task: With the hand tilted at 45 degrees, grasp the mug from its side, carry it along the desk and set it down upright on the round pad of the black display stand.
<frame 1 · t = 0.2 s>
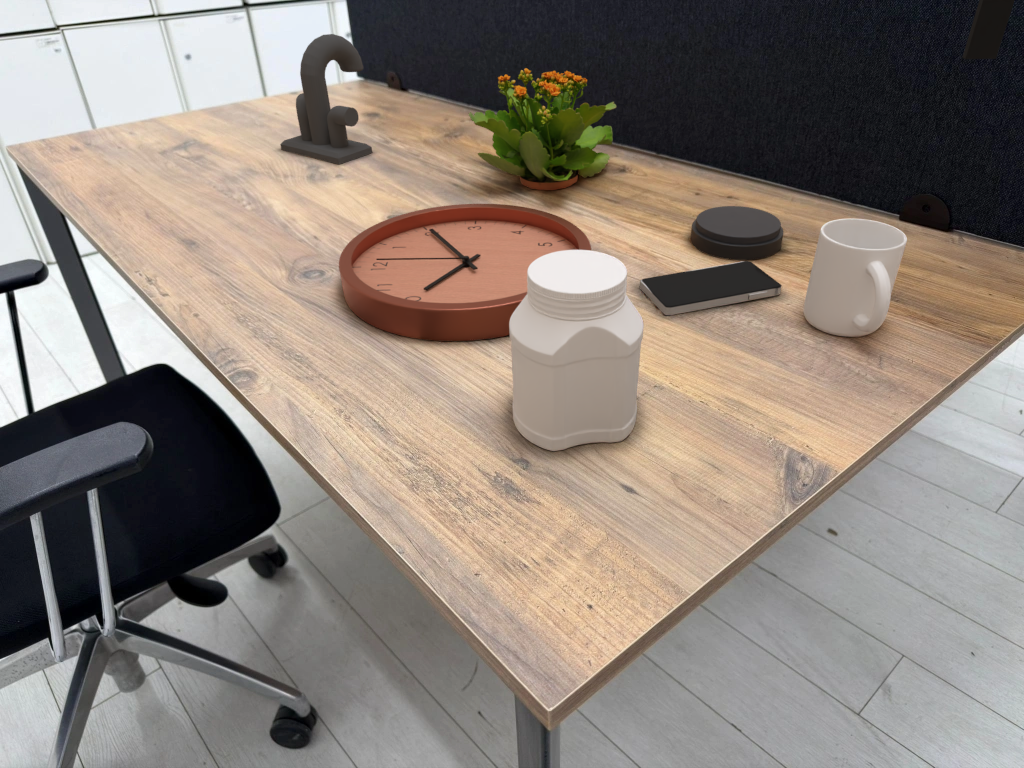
hand: (1010, 74, 63), 26 cm above the table, tool pointing down, fingers open, 13 cm apart
display stand: (735, 241, 99), on the table
smartphone: (708, 292, 87), on the table
potted flower: (545, 183, 121), on the table
mug: (846, 329, 79), on the table
jar: (573, 416, 68), on the table
clock: (467, 279, 92), on the table
faucet: (341, 147, 142), on the table
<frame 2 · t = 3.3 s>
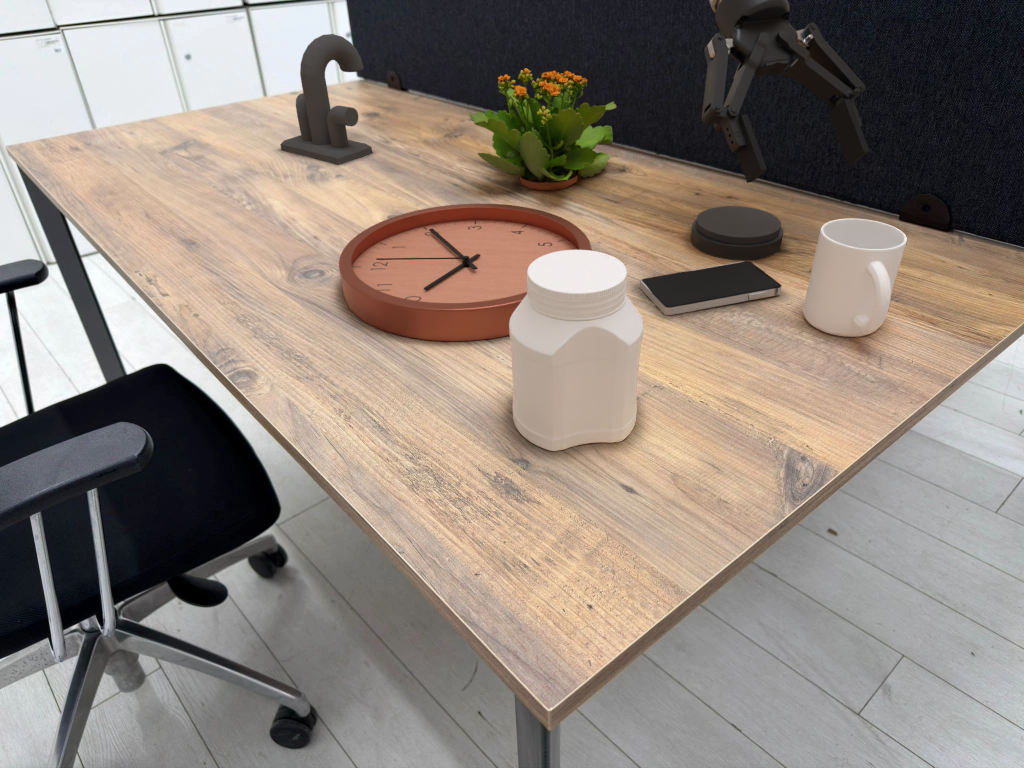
hand: (809, 167, 79), 15 cm above the table, tool tilted 45°, fingers open, 13 cm apart
nothing on the table moved.
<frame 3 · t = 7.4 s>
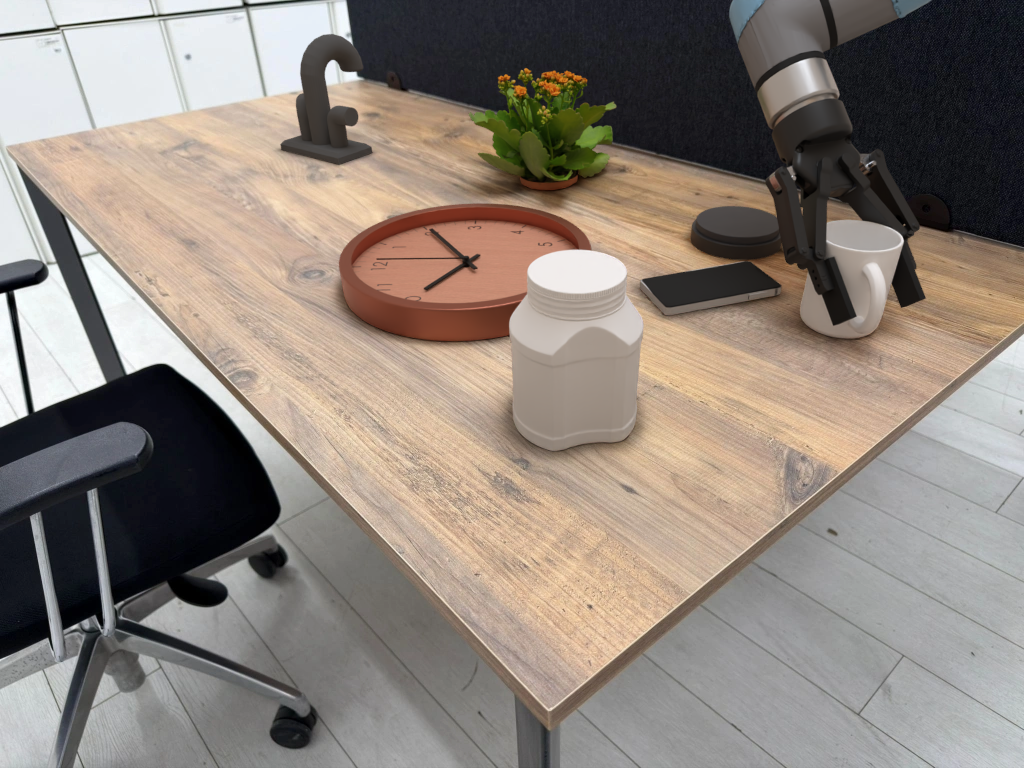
hand: (879, 312, 74), 4 cm above the table, tool tilted 45°, fingers closed on mug, 8 cm apart
mug: (843, 331, 79), on the table, touching gripper
everything else where it was.
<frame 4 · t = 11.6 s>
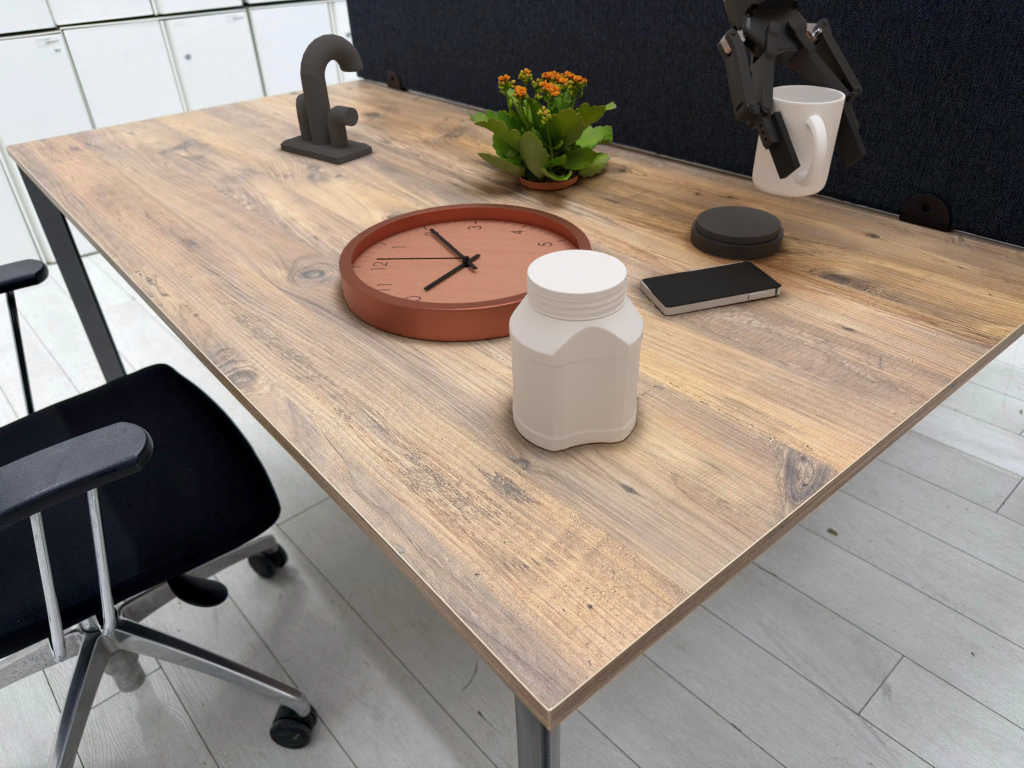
hand: (823, 166, 79), 15 cm above the table, tool tilted 45°, fingers closed on mug, 8 cm apart
mug: (791, 192, 83), point 11 cm above the table, touching gripper
everything else where it was.
when the fingers open (7 cm above the table, at t = 15.8 s): mug stays where it is, resting on display stand.
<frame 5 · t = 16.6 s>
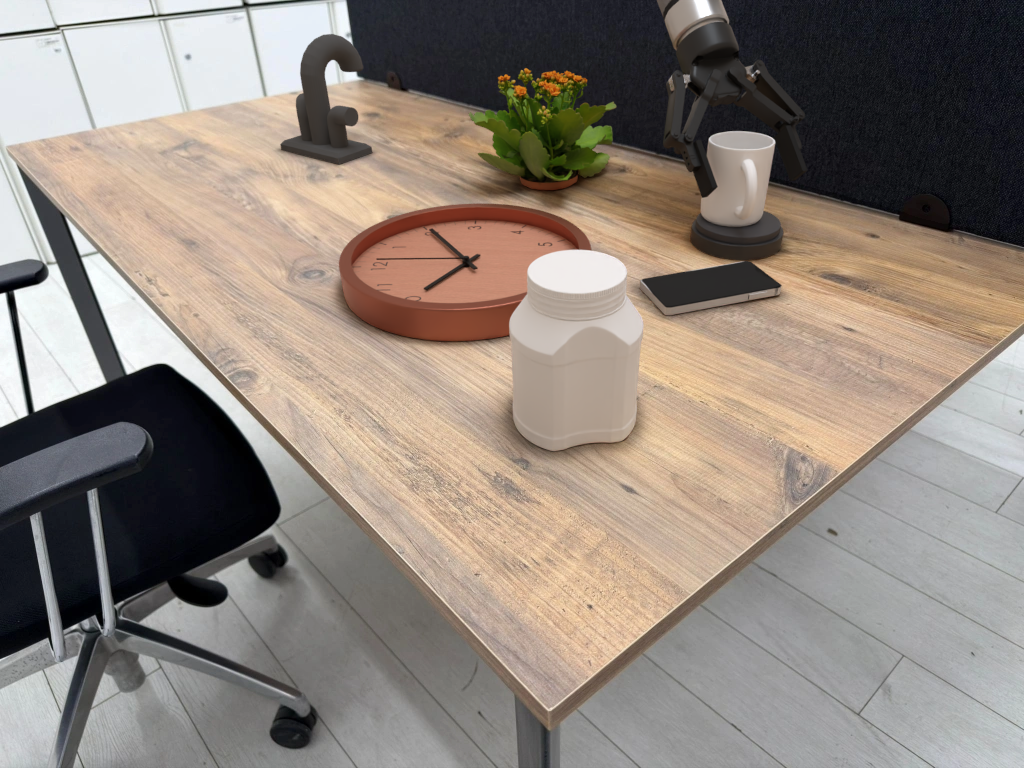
hand: (755, 184, 92), 9 cm above the table, tool tilted 45°, fingers open, 13 cm apart
mug: (733, 223, 97), point 3 cm above the table, touching display stand
everything else where it was.
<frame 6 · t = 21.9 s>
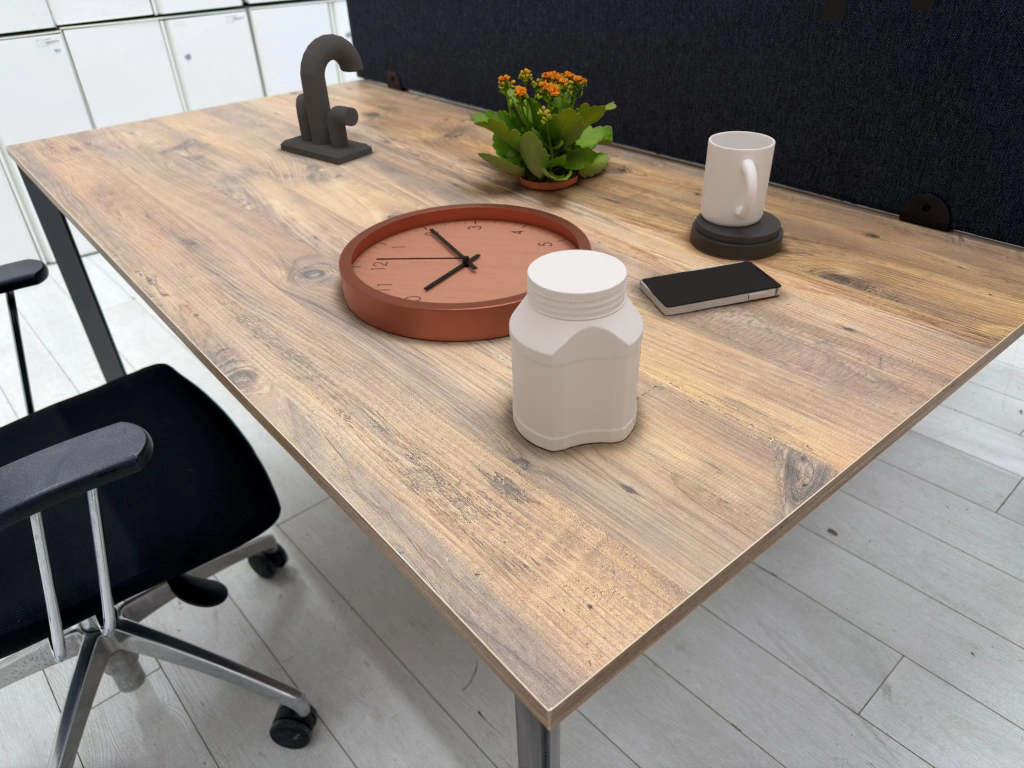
hand: (877, 15, 88), 27 cm above the table, tool pointing down, fingers open, 13 cm apart
nothing on the table moved.
at the end: mug inside the target area on the display stand (0.7 cm from its centre), point 2.8 cm above the display stand's base; mug tilted 0°; the gripper is holding nothing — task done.
